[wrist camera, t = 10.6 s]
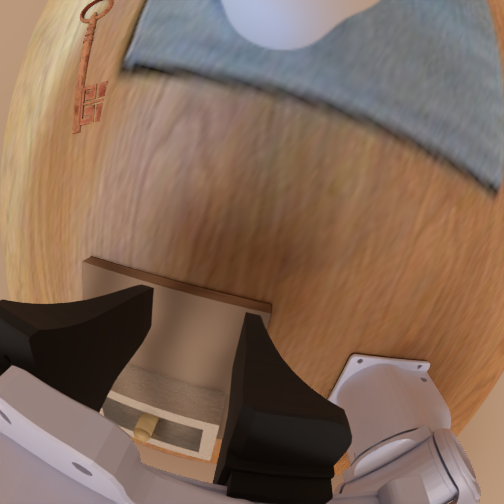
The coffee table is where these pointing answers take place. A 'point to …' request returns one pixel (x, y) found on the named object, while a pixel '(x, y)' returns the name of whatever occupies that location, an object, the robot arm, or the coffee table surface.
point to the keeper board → (180, 330)
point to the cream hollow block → (167, 410)
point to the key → (80, 87)
